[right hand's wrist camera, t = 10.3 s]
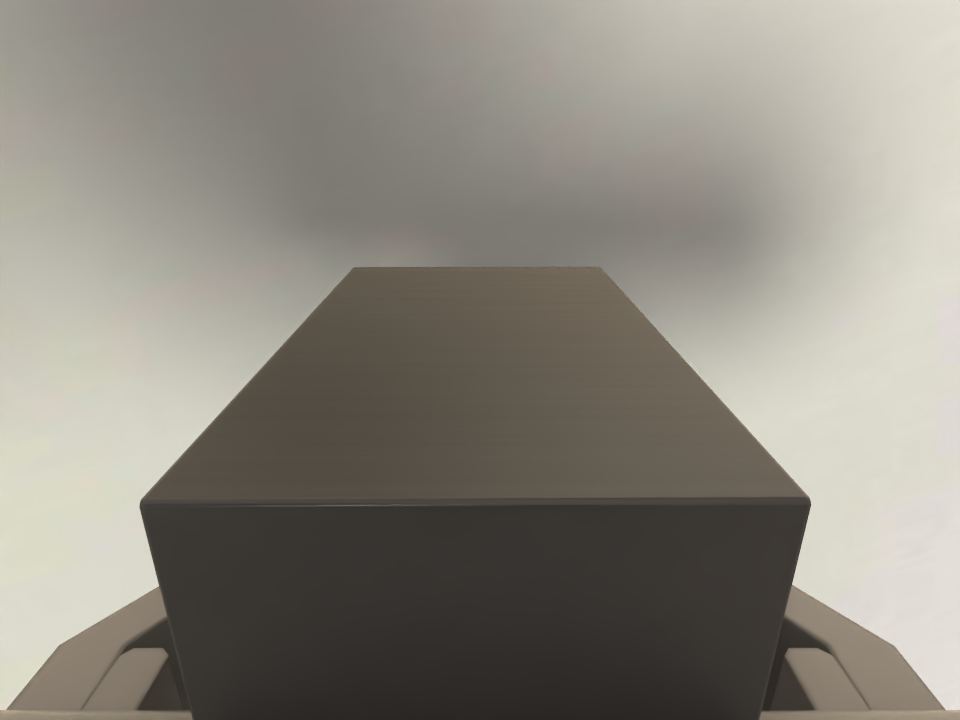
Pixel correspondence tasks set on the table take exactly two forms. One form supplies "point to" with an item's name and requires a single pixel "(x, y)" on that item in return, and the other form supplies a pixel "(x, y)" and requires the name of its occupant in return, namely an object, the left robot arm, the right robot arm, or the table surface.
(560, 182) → the table surface
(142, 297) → the table surface
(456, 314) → the bar
